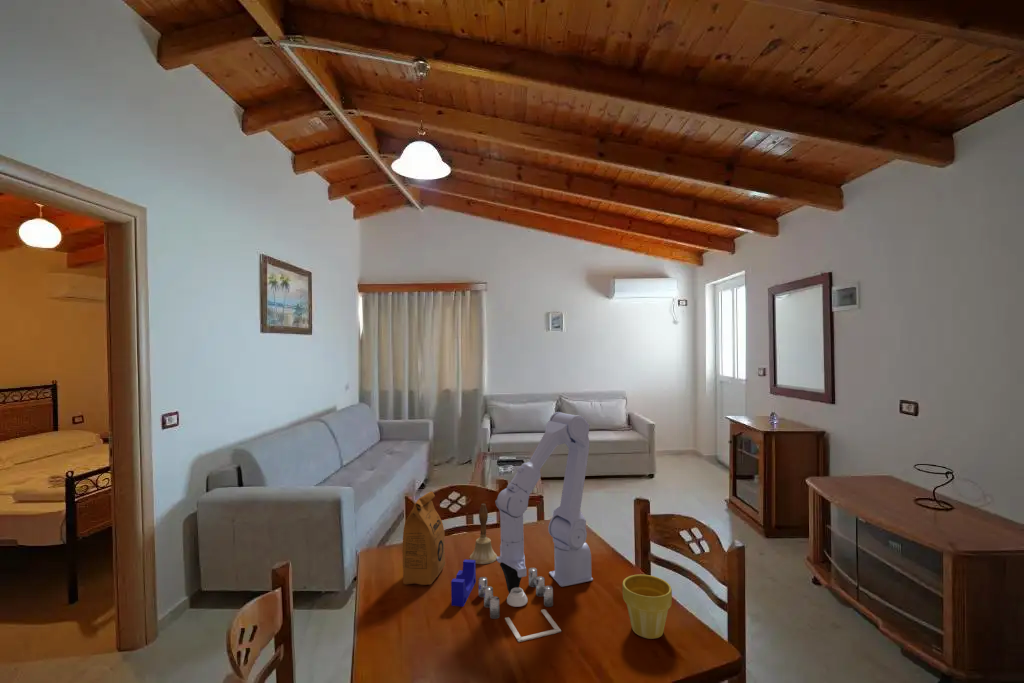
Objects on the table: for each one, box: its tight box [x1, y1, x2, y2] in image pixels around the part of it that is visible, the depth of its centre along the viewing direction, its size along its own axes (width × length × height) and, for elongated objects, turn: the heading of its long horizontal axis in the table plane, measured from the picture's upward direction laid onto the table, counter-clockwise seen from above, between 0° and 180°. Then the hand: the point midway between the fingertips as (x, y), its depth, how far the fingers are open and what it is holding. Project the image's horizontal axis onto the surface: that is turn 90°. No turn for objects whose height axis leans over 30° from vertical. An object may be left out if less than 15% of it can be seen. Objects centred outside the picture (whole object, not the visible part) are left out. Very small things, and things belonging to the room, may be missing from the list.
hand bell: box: [469, 503, 498, 565], centre depth 140 cm, size 8×8×16 cm
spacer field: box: [477, 567, 554, 620], centre depth 116 cm, size 16×12×4 cm
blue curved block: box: [450, 559, 477, 608], centre depth 120 cm, size 12×4×6 cm, turn 170°
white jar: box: [506, 587, 528, 608], centre depth 115 cm, size 5×3×5 cm
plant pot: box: [622, 574, 673, 640], centre depth 103 cm, size 10×10×10 cm
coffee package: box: [401, 490, 446, 586], centre depth 129 cm, size 10×12×22 cm
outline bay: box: [504, 608, 562, 643], centre depth 105 cm, size 10×9×1 cm
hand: (513, 592), depth 117 cm, fingers closed
